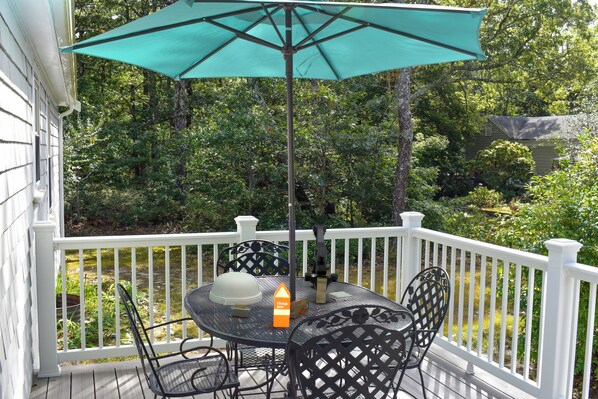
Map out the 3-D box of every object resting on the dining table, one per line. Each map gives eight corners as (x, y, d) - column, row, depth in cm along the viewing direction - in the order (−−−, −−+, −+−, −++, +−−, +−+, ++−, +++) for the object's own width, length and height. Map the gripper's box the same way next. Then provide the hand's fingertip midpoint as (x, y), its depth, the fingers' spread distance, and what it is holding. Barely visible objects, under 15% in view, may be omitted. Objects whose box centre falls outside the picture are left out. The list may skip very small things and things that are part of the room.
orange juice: (289, 321, 281) (290, 282, 279) (289, 327, 272) (290, 286, 270) (273, 320, 281) (274, 281, 279) (273, 326, 272) (274, 286, 270)
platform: (228, 311, 294) (228, 299, 293) (261, 315, 290) (261, 303, 289) (220, 318, 282) (220, 305, 282) (254, 322, 278) (255, 309, 278)
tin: (291, 320, 283) (292, 303, 282) (286, 318, 285) (287, 302, 284) (309, 313, 295) (309, 297, 294) (304, 312, 297) (305, 296, 296)
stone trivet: (328, 298, 328) (328, 293, 328) (342, 296, 333) (343, 291, 332) (337, 302, 319) (337, 297, 319) (352, 300, 324) (352, 295, 324)
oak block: (315, 300, 318) (317, 277, 317) (324, 300, 318) (326, 277, 317) (316, 302, 313) (317, 279, 312) (325, 303, 313) (326, 280, 312)
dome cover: (249, 308, 300) (250, 282, 299) (198, 302, 309) (199, 277, 307) (270, 294, 330) (271, 270, 329) (223, 288, 339) (224, 265, 338)
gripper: (305, 258, 317) (305, 282, 307) (338, 259, 317) (339, 283, 308) (304, 268, 326) (304, 292, 316) (336, 269, 326) (337, 293, 316)
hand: (321, 290), depth 314 cm, fingers closed on oak block, 5 cm apart
